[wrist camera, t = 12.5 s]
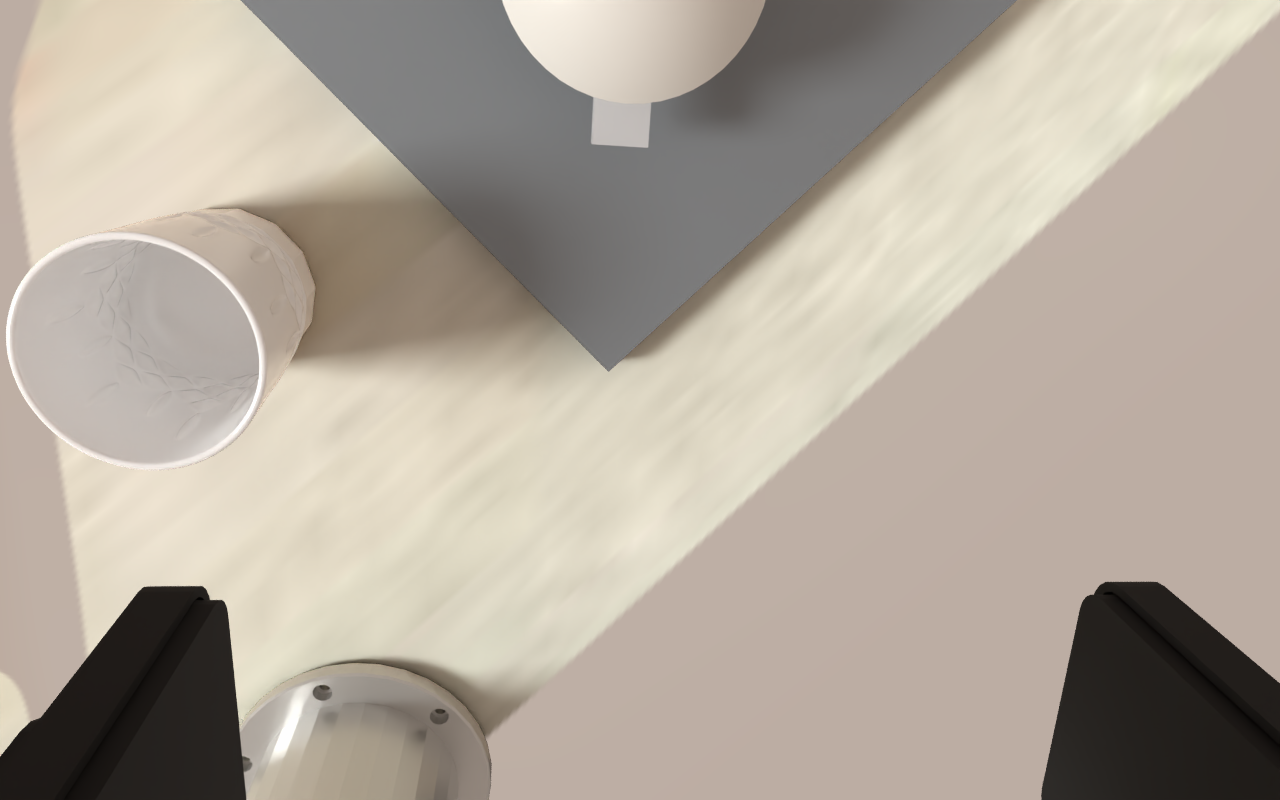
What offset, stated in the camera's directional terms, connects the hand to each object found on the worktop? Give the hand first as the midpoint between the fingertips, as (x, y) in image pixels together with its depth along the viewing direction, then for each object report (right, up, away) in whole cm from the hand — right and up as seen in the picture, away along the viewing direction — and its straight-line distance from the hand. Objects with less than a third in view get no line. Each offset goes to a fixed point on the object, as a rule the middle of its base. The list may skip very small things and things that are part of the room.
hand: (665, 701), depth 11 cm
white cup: (-17, +8, +30) cm, 36 cm away
